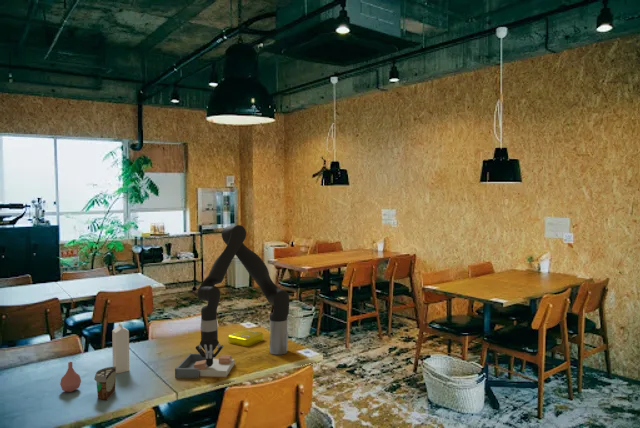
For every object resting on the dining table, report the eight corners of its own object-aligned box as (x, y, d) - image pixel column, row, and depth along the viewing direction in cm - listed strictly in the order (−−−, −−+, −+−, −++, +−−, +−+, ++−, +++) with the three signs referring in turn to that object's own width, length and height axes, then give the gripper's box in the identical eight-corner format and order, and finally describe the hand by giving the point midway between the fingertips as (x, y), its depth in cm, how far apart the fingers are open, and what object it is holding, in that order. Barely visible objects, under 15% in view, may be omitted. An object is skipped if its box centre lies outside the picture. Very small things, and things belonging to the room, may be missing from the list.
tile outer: (207, 364, 220) (206, 359, 220) (205, 368, 215) (204, 363, 215) (197, 366, 220) (196, 361, 220) (194, 370, 215) (193, 365, 215)
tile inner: (231, 360, 228) (231, 354, 228) (229, 363, 223) (229, 358, 223) (221, 359, 228) (221, 354, 228) (218, 363, 223) (218, 358, 223)
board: (234, 364, 230) (234, 359, 229) (226, 376, 214) (226, 371, 213) (210, 363, 230) (210, 358, 230) (200, 376, 214) (200, 370, 214)
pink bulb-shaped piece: (59, 395, 192) (58, 366, 192) (61, 389, 199) (60, 360, 199) (80, 392, 195) (80, 364, 195) (81, 386, 202) (81, 358, 202)
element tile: (264, 340, 269) (264, 332, 269) (247, 347, 256) (247, 338, 256) (244, 336, 277) (244, 328, 277) (226, 343, 264) (226, 334, 264)
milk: (115, 373, 217) (115, 326, 216) (112, 369, 222) (111, 323, 221) (129, 370, 220) (128, 324, 219) (126, 367, 225) (125, 321, 224)
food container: (101, 389, 199) (101, 366, 198) (116, 389, 199) (116, 366, 199) (89, 402, 186) (89, 377, 186) (105, 402, 187) (105, 377, 186)
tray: (210, 361, 233) (210, 353, 232) (197, 378, 212) (197, 369, 212) (189, 361, 233) (189, 353, 233) (175, 377, 212) (174, 368, 212)
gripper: (225, 326, 221) (225, 363, 221) (197, 326, 221) (197, 363, 222) (221, 331, 213) (221, 369, 214) (192, 331, 214) (193, 368, 214)
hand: (209, 365), depth 218 cm, fingers closed
